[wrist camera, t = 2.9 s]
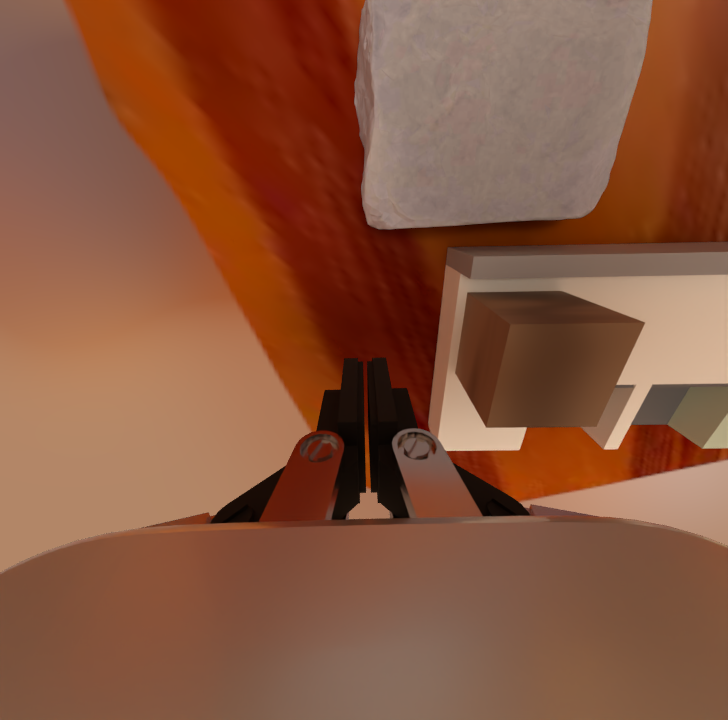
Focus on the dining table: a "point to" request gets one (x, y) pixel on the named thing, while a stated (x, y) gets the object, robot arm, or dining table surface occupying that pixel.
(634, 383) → the box
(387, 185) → the stone block
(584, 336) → the walnut cube
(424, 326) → the dining table surface
